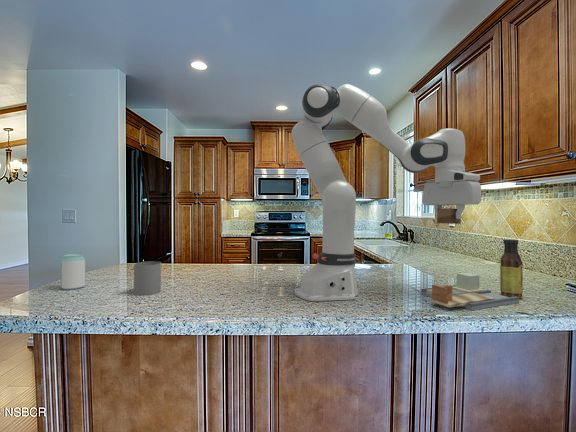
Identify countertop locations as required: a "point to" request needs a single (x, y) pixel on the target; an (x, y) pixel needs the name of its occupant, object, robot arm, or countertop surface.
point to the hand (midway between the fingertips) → (448, 218)
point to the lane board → (478, 305)
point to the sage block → (468, 281)
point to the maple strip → (455, 297)
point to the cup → (147, 278)
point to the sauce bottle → (511, 270)
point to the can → (72, 271)
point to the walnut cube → (447, 216)
